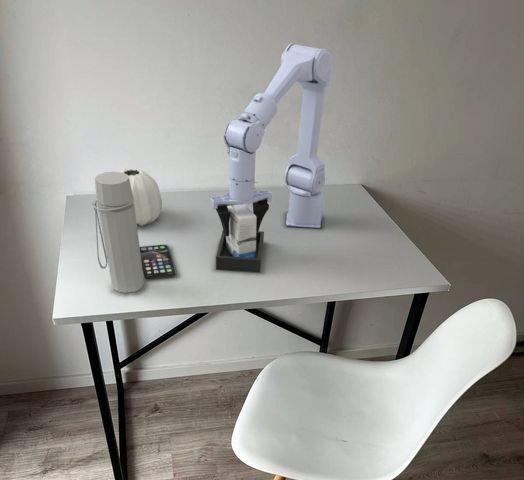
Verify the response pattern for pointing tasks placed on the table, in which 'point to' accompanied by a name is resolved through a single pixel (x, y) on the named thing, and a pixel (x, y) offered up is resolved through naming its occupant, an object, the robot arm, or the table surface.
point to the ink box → (241, 232)
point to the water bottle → (119, 231)
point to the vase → (144, 196)
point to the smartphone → (156, 262)
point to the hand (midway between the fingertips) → (241, 232)
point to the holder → (239, 263)
